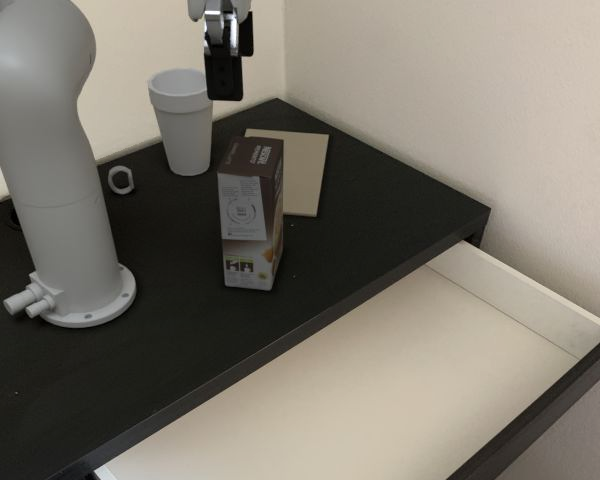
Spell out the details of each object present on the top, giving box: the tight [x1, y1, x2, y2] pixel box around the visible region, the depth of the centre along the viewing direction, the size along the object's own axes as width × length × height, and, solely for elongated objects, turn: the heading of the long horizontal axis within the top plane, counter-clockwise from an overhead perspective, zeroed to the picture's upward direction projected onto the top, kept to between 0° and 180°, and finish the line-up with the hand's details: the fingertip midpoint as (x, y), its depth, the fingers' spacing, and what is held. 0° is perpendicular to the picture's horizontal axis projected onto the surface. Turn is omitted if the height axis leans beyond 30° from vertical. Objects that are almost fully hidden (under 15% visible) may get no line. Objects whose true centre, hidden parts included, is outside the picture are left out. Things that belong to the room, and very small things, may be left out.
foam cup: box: [146, 67, 214, 177], centre depth 100 cm, size 10×9×13 cm
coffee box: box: [216, 135, 284, 291], centre depth 82 cm, size 9×6×16 cm
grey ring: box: [107, 165, 135, 195], centre depth 98 cm, size 4×2×4 cm, turn 105°
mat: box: [244, 128, 330, 218], centre depth 104 cm, size 24×14×1 cm, turn 174°
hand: (232, 76), depth 63 cm, fingers open, 9 cm apart
